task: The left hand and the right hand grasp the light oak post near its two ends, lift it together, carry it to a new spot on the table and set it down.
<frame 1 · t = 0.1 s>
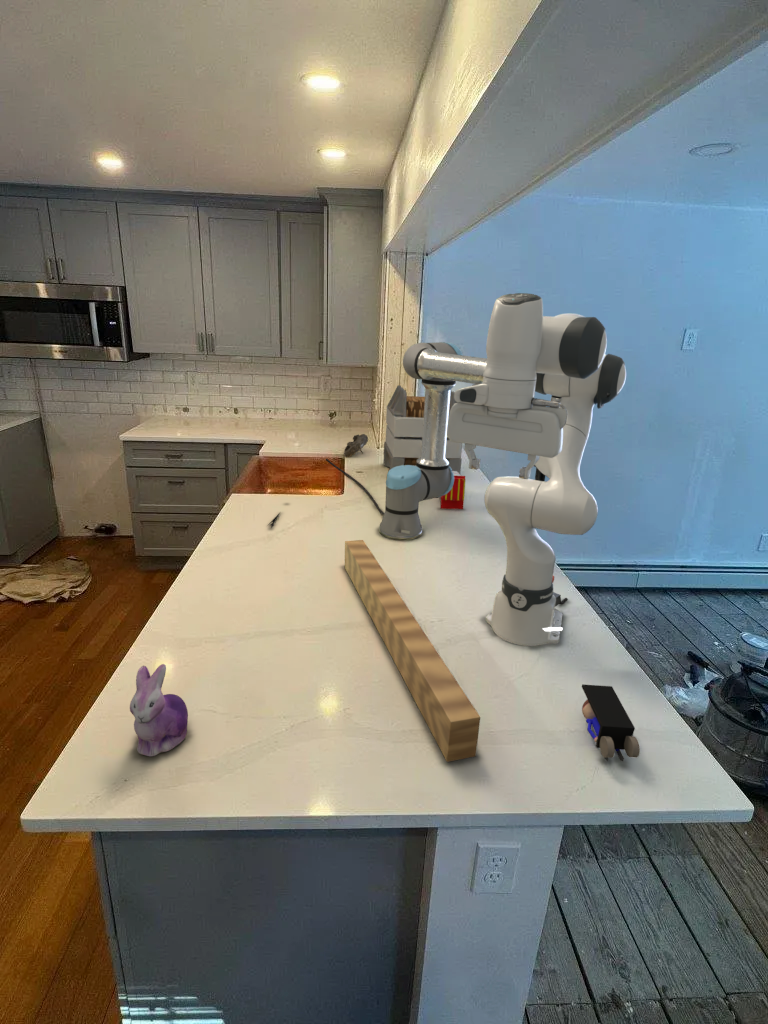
left hand: (552, 485, 166), 28 cm above the counter, tool pointing down, fingers open, 13 cm apart
right hand: (498, 473, 101), 48 cm above the counter, tool pointing down, fingers open, 8 cm apart
post: (393, 637, 137), on the counter
toy: (447, 498, 240), on the counter
grey boxy frame: (419, 473, 275), on the counter
figurine: (163, 740, 102), on the counter
fossil: (355, 453, 307), on the counter
feather: (278, 516, 211), on the counter
figurine character: (603, 740, 107), on the counter
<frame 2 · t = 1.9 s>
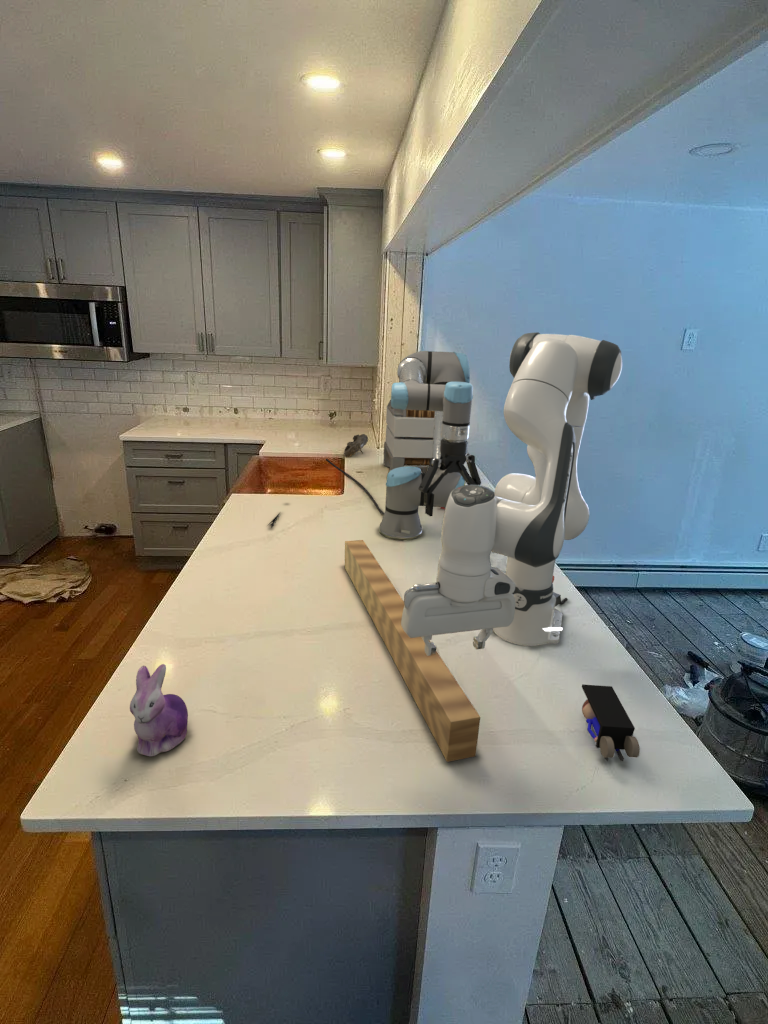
left hand: (448, 511, 164), 20 cm above the counter, tool pointing down, fingers open, 13 cm apart
right hand: (454, 650, 101), 18 cm above the counter, tool pointing down, fingers open, 8 cm apart
nothing on the counter moved.
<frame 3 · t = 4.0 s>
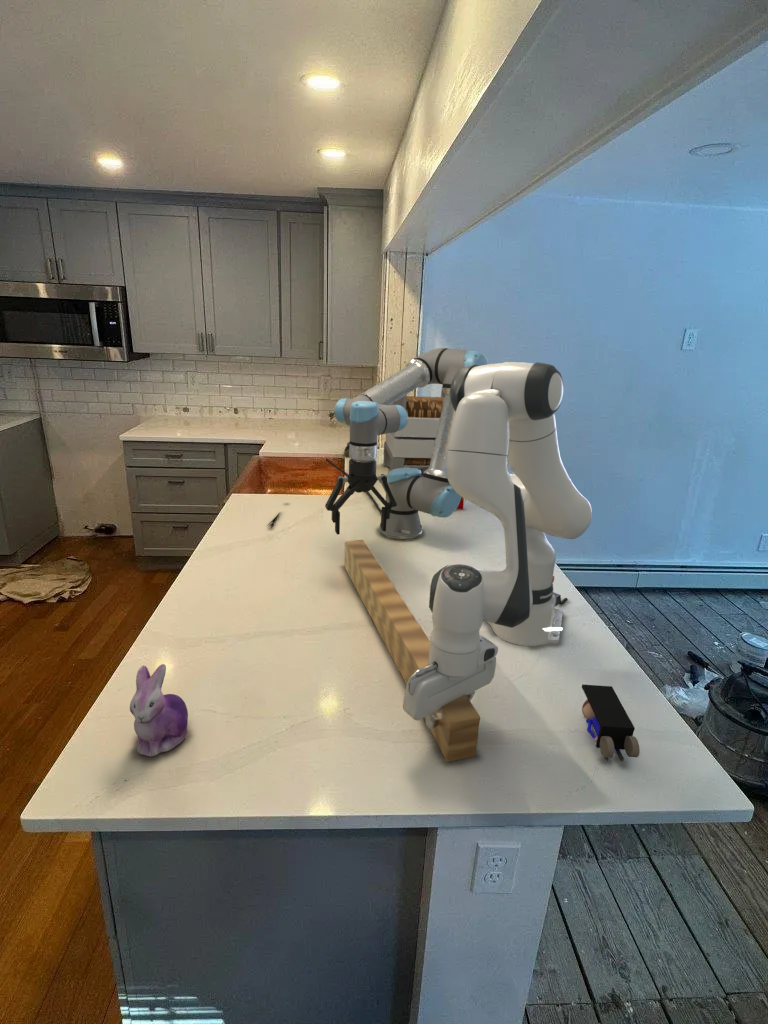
left hand: (360, 531, 162), 14 cm above the counter, tool pointing down, fingers open, 13 cm apart
right hand: (447, 717, 106), 3 cm above the counter, tool pointing down, fingers closed on post, 7 cm apart
post: (393, 637, 137), on the counter, touching right hand
everything else where it was.
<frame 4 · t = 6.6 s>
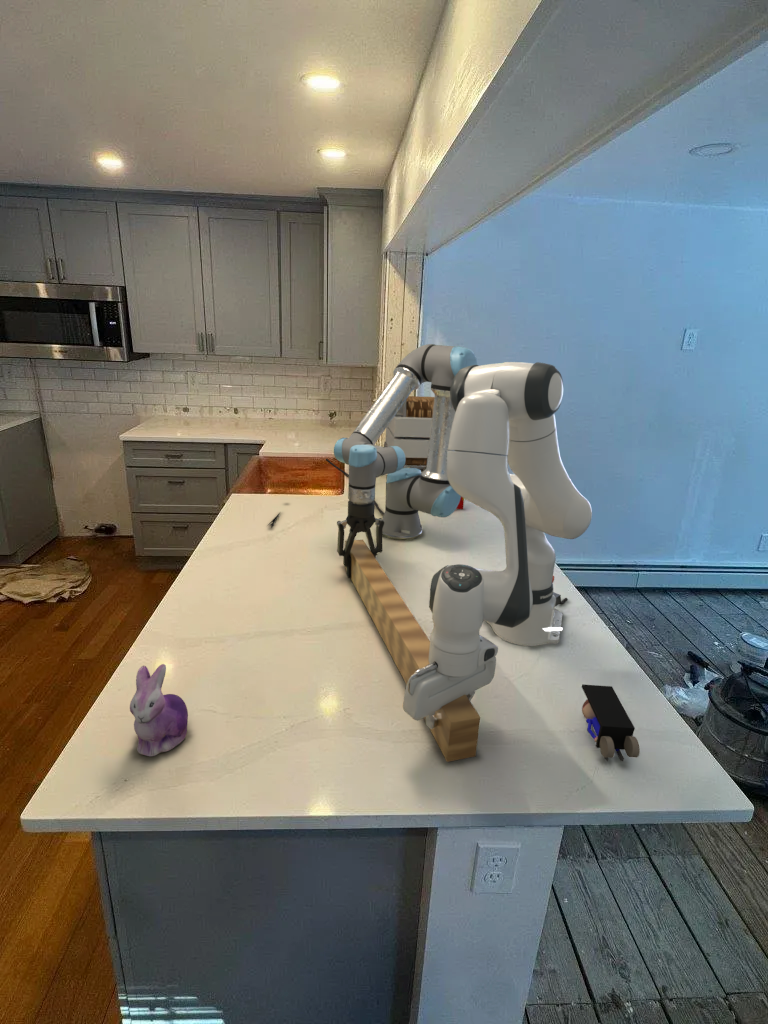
left hand: (359, 574, 167), 1 cm above the counter, tool pointing down, fingers closed on post, 6 cm apart
right hand: (447, 717, 106), 3 cm above the counter, tool pointing down, fingers closed on post, 7 cm apart
post: (393, 637, 137), on the counter, touching left hand, right hand
everything else where it was.
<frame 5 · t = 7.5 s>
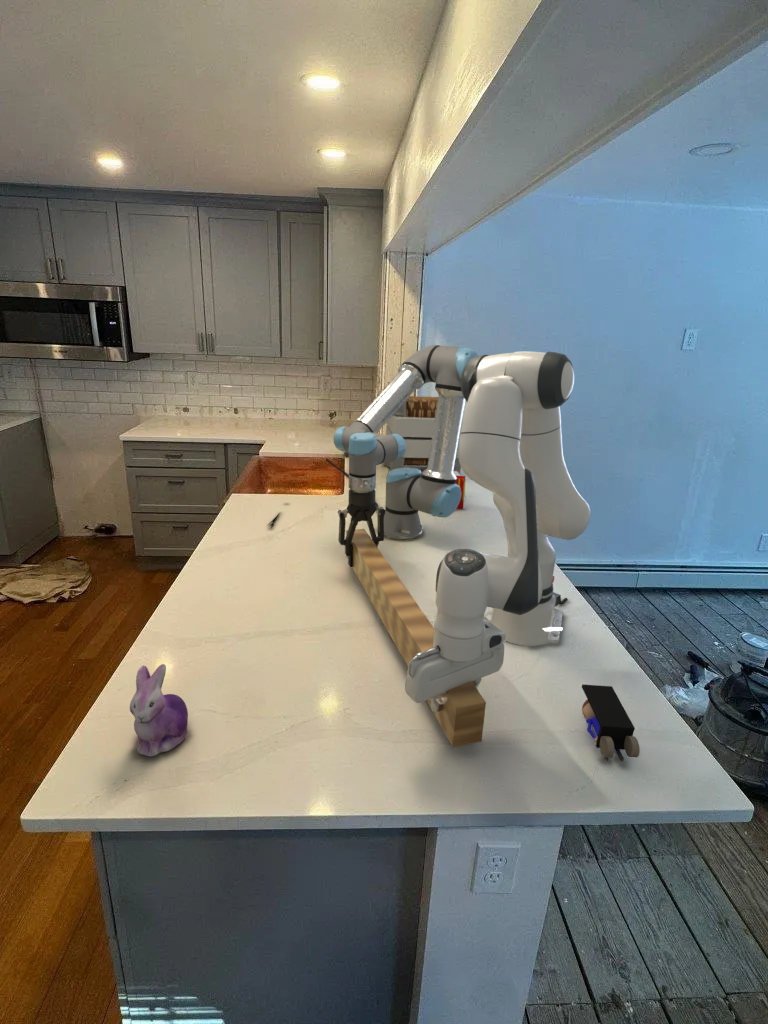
left hand: (361, 564, 166), 4 cm above the counter, tool pointing down, fingers closed on post, 6 cm apart
right hand: (453, 702, 105), 6 cm above the counter, tool pointing down, fingers closed on post, 6 cm apart
post: (396, 625, 136), point 3 cm above the counter, touching left hand, right hand
everything else where it was.
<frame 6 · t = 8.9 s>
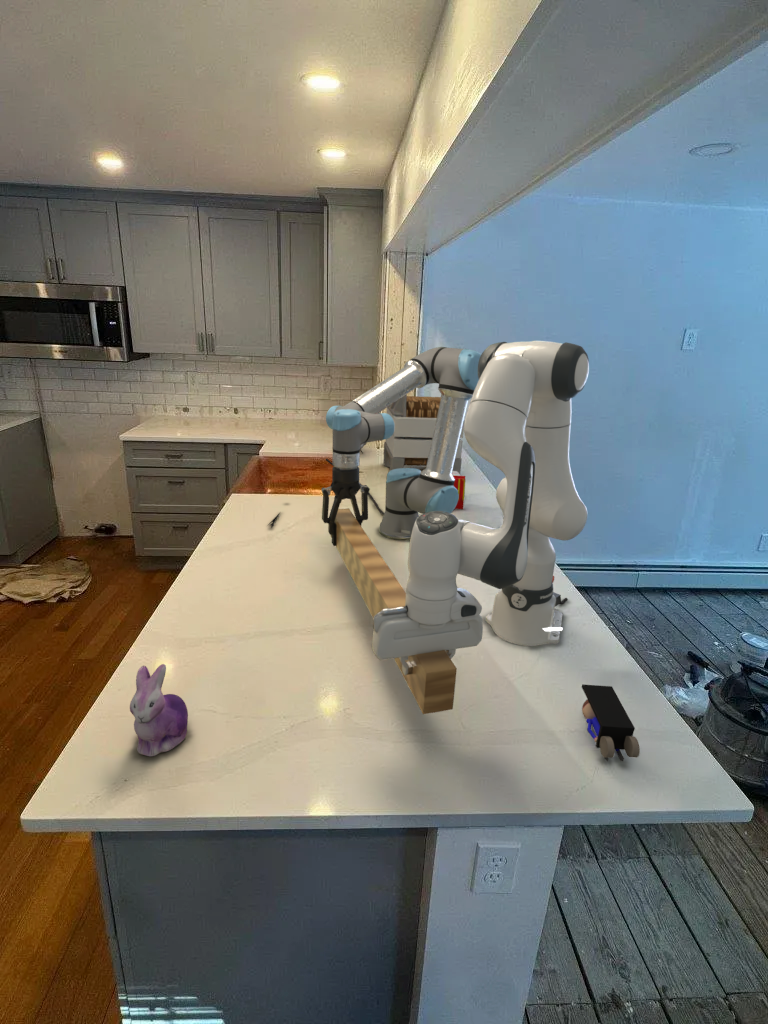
left hand: (344, 543, 165), 10 cm above the counter, tool pointing down, fingers closed on post, 6 cm apart
right hand: (425, 669, 104), 13 cm above the counter, tool pointing down, fingers closed on post, 5 cm apart
post: (375, 600, 135), point 9 cm above the counter, touching left hand, right hand
everything else where it was.
when the left hand's fingers open (2 cm above the counter, at t = 11.1 s): post stays where it is, held by the right hand.
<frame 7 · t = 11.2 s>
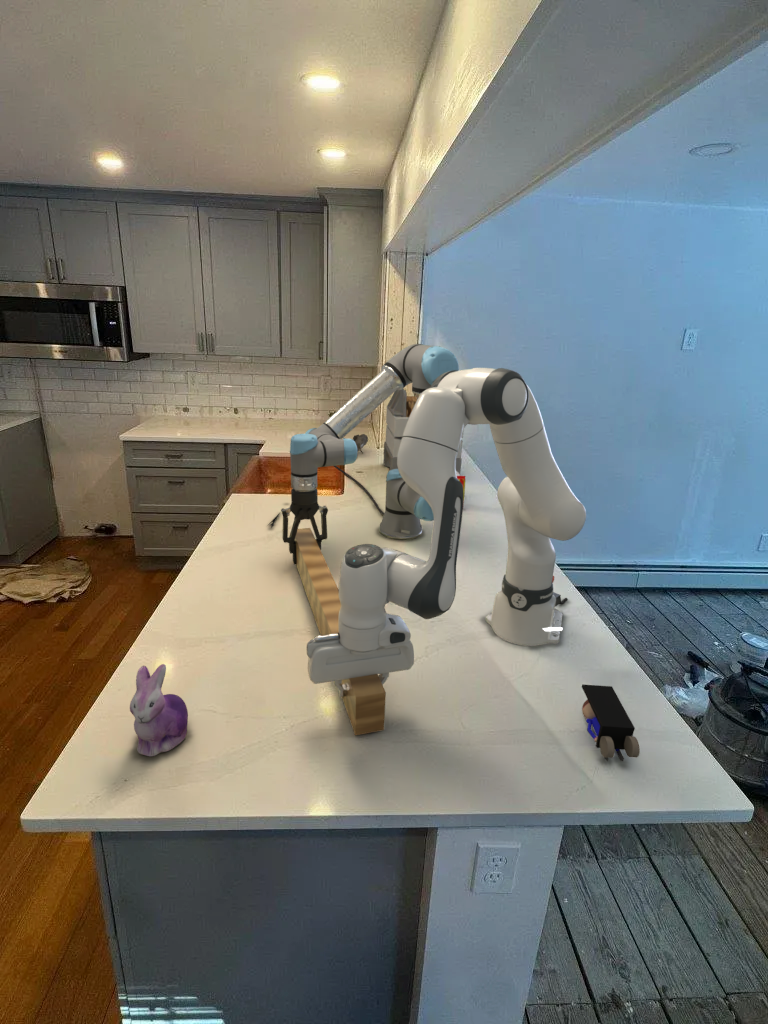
left hand: (305, 561, 171), 2 cm above the counter, tool pointing down, fingers open, 6 cm apart
right hand: (360, 692, 110), 5 cm above the counter, tool pointing down, fingers closed on post, 6 cm apart
post: (326, 620, 141), point 1 cm above the counter, touching right hand
everything else where it was.
when the right hand's fingers open (5 cm above the counter, at t = 11.4 s): post stays where it is, on the counter.
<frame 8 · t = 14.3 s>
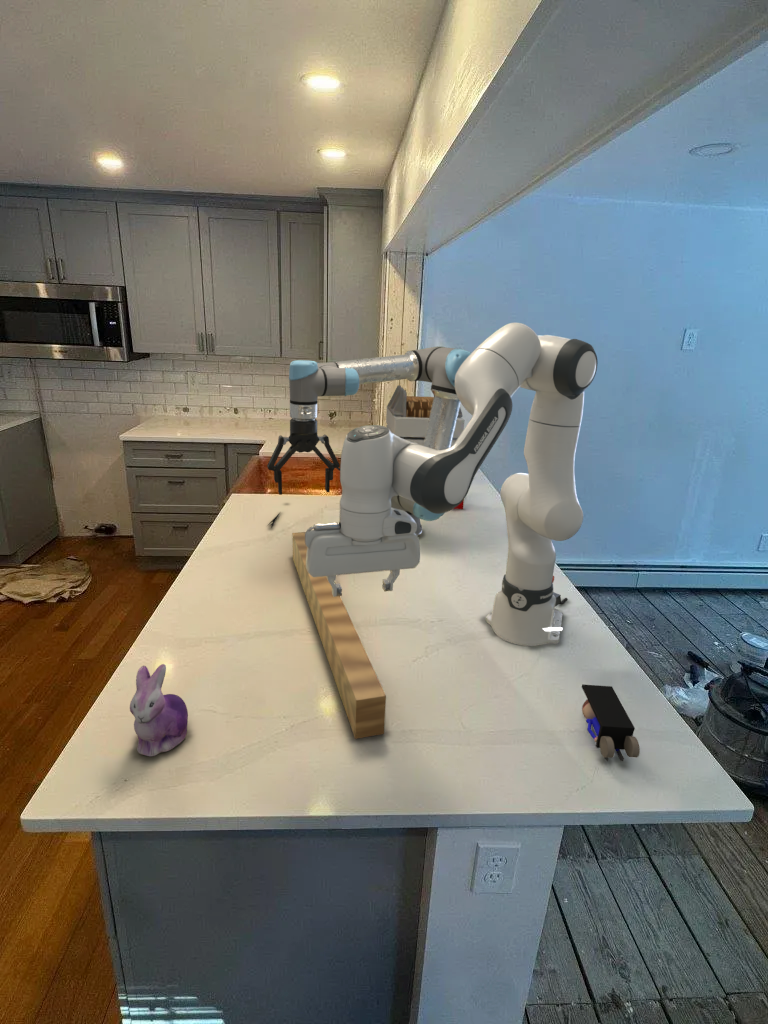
left hand: (304, 492, 163), 24 cm above the counter, tool pointing down, fingers open, 13 cm apart
right hand: (362, 592, 102), 26 cm above the counter, tool pointing down, fingers open, 8 cm apart
post: (326, 624, 141), on the counter
everything else where it was.
at the end: post inside the target area (0.3 cm from its centre), on the counter; post tilted 0°; post never tilted more than 2° during the clip; both hands held the post at the same time; the left hand is holding nothing; the right hand is holding nothing; post at rest at the end (0.0 cm/s) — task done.
